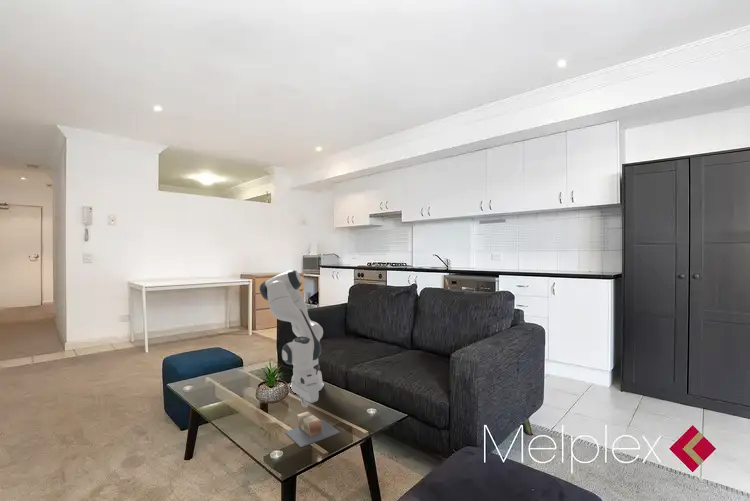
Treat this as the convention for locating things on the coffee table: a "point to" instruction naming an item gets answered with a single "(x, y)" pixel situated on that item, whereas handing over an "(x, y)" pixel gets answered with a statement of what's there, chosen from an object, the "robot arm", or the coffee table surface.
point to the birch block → (309, 423)
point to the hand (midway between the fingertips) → (304, 406)
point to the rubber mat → (305, 439)
